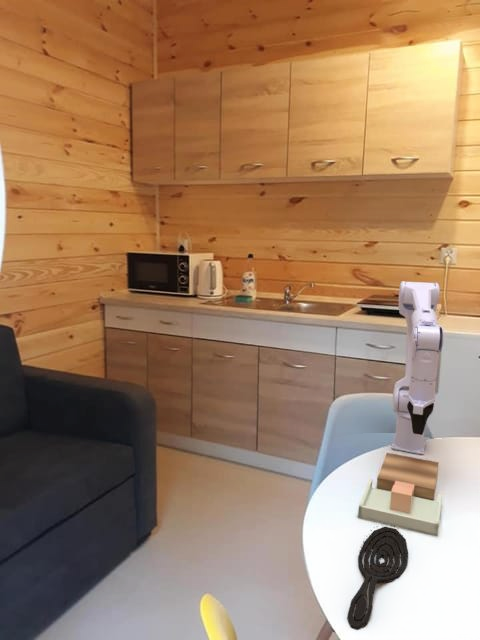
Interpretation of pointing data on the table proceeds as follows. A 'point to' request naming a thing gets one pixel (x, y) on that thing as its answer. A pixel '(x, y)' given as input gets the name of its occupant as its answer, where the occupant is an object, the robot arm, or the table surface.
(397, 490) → the tile front
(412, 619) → the table surface
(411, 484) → the tile rear
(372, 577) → the hairbrush
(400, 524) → the tray
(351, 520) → the table surface
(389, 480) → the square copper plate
